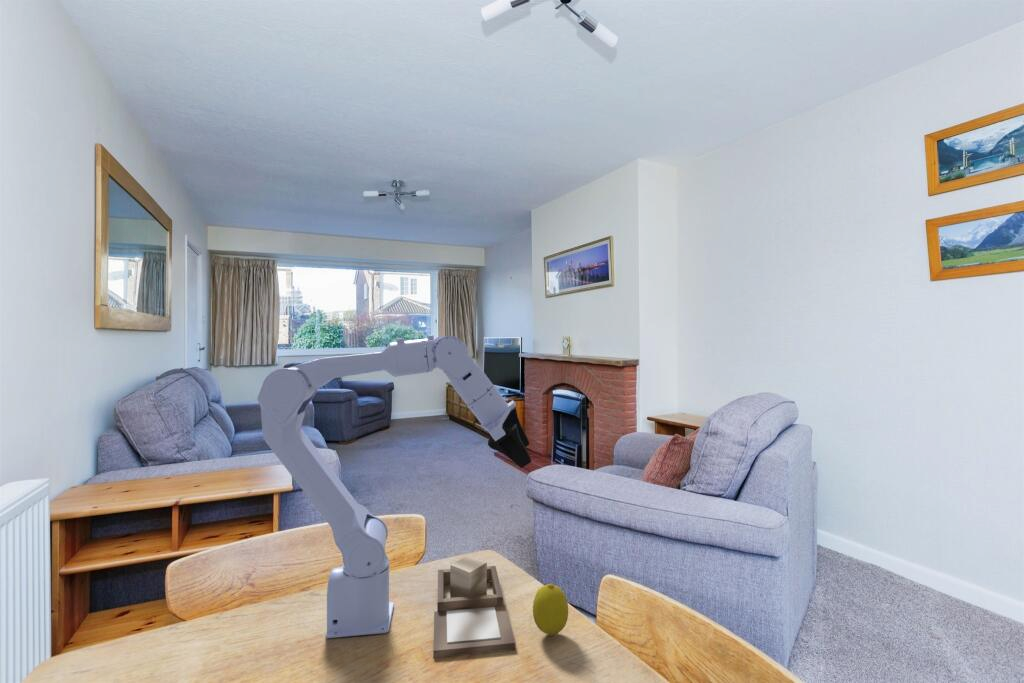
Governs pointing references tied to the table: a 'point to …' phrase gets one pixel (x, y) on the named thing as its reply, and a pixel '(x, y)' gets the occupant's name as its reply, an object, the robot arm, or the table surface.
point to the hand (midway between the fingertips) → (525, 455)
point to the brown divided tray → (471, 621)
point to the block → (468, 577)
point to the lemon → (550, 609)
